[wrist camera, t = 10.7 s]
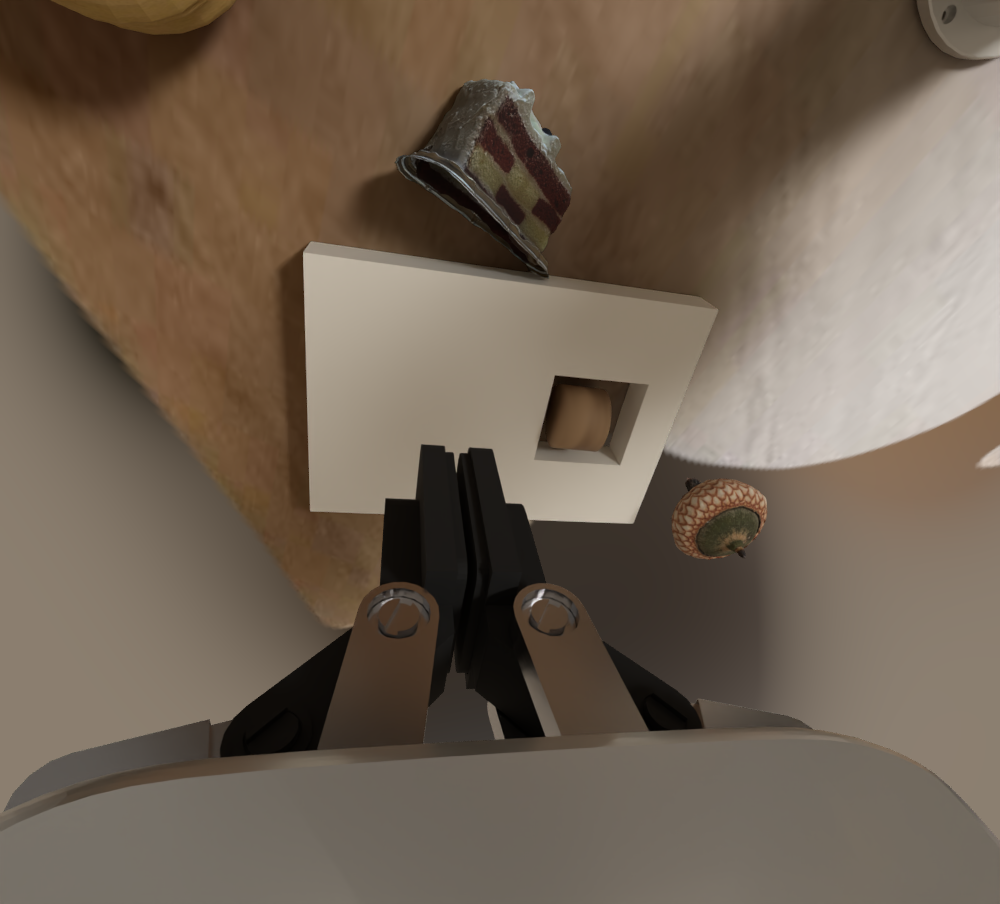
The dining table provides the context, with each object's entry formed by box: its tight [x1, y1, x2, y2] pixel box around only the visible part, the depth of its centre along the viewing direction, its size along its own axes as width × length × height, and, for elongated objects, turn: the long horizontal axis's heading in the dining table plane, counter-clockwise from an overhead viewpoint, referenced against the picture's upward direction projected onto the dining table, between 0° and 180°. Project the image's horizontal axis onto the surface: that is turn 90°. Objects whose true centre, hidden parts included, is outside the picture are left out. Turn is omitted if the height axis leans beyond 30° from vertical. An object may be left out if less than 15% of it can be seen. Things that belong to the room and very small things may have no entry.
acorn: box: [672, 478, 767, 560], centre depth 46 cm, size 8×8×10 cm
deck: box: [303, 241, 719, 524], centre depth 41 cm, size 28×20×3 cm
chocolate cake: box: [395, 79, 572, 279], centre depth 32 cm, size 10×7×12 cm
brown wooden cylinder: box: [545, 384, 611, 452], centre depth 41 cm, size 5×5×4 cm
